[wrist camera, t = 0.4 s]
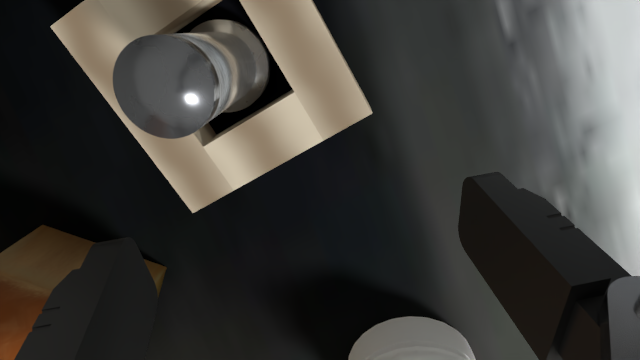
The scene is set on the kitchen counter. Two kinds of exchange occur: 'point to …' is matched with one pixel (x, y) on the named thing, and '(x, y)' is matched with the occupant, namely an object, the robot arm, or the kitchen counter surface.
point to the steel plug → (190, 77)
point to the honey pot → (411, 341)
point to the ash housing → (251, 132)
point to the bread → (39, 280)
